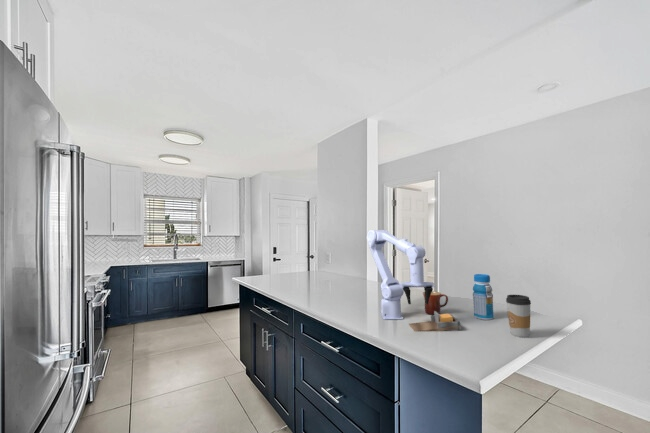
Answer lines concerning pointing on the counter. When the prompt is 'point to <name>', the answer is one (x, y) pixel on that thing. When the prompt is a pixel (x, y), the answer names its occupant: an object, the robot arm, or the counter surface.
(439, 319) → the orange block with knobs
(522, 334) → the coffee cup
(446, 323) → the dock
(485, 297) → the beverage bottle
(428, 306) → the mug
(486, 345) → the counter surface
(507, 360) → the counter surface
